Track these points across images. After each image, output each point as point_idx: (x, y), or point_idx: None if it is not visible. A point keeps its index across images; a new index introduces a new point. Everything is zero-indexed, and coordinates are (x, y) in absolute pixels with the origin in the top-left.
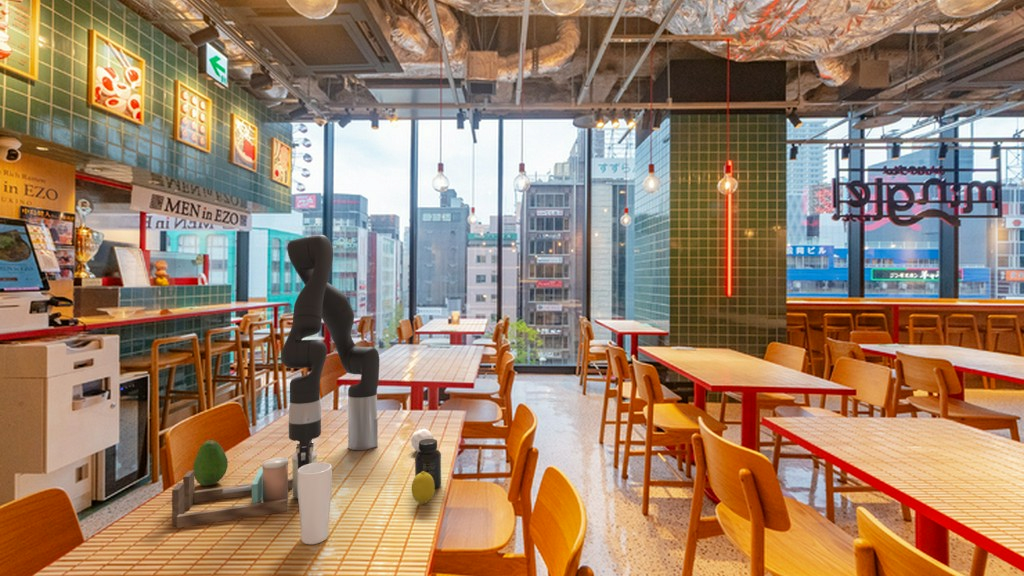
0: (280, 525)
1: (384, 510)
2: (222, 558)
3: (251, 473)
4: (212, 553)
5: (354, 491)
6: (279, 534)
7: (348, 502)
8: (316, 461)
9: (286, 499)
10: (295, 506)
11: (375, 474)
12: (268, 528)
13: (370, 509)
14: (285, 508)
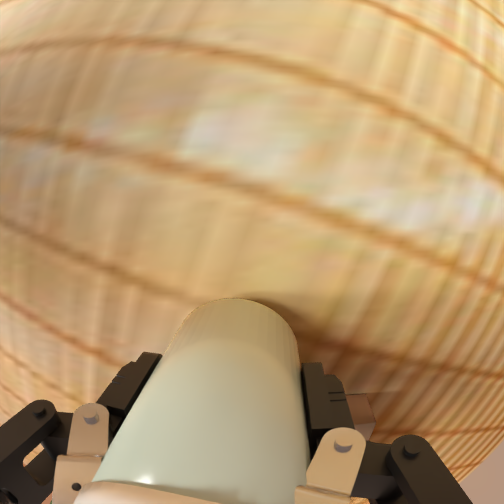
0: (455, 385)
1: (489, 33)
2: (495, 437)
3: None
4: (466, 459)
5: (266, 81)
6: (497, 371)
7: (403, 127)
8: (194, 442)
9: (359, 425)
10: (335, 371)
11: (91, 16)
12: (449, 409)
13: (481, 66)
14: (367, 404)
